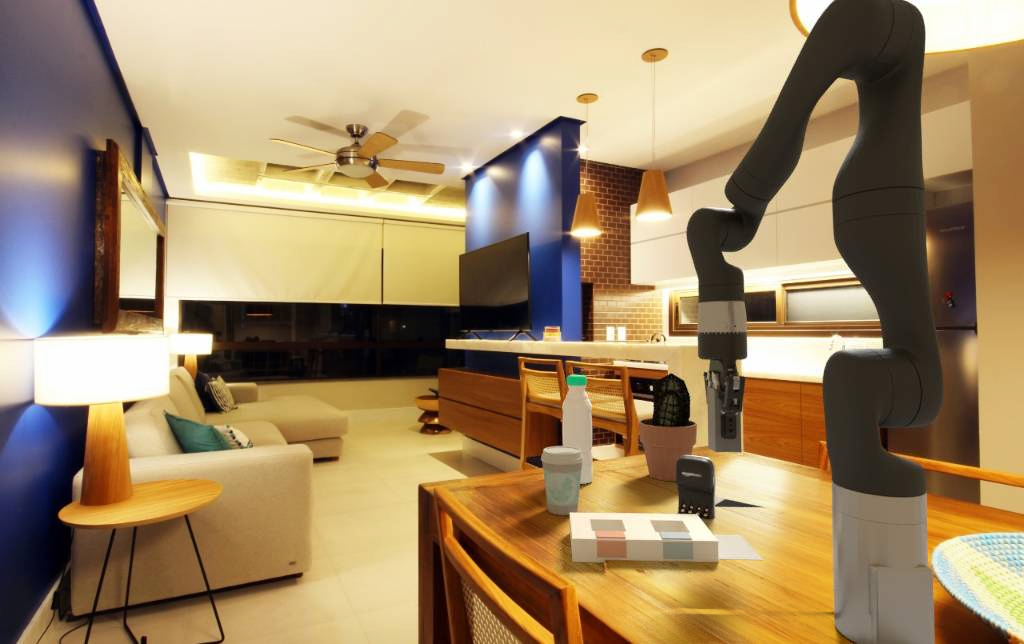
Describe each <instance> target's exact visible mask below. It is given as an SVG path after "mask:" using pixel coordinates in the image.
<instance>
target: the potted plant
mask: <svg viewBox="0 0 1024 644" xmlns="http://www.w3.org/2000/svg"><path fill="white" fill-rule="evenodd" d="M652 398H653V405H652V408H653V411H652V417H651V418H650V417H649V418H643V419H640V420H638V432H639V442H640V443H642V445H643V451H644V456H645V460H646V461H645V462H646V465H647V469H648V471H647V472H648V475H649V476H650V477H651V478H652V479H655V480H658V481H663V482H664V481H665V482H676V462H677V460H678V459H679V458H680V457H681V456H683V455H693V449H694V446H695V445H696V444H697V434H698V433H697V431H698V423H697V422H696V421H694V420H690V418H691V395H690V392H689V390H688V387H687V384H686V382H685V380H684V379H683V378H681V377H678V376H677V375H675V374H674V373H672V372H671V373H669V374H667V375H664V376H663V377H661V378H659V379H658V381H657V384H656V385H655V389H654V393H653V394H652Z"/></svg>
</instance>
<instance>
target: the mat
mask: <svg viewBox="0 0 1024 644" xmlns="http://www.w3.org/2000/svg"><path fill="white" fill-rule="evenodd" d="M713 535H714V536H715V538H716V539H717V540H718V560H729V561H730V560H731V561H732V560H734V561H735V560H736V561H737V560H738V561H739V560H740V561H741V560H742V561H764V559H763V558H762V556H761V555H759V553H758V552H757V551H756V550H755V549H754V548H753V547H752V546H751V545H750V543H749V542H748V541H747V540H746V539H745V538H744V537H743V536H742V535H740V534H713Z"/></svg>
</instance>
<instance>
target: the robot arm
mask: <svg viewBox="0 0 1024 644" xmlns="http://www.w3.org/2000/svg"><path fill="white" fill-rule="evenodd" d="M925 53H926V25H925V19H924V16H923V14H922V12H921V10H920V9H919V8H918V7H917V6H916V5H914V4H913V3H911V2H910V1H907V0H832V1H831V3H830V4H828V6H827V7H825V9H824V10H823V12H822V13H820V16H819V17H818V19H816V21H815V23H814V25H813V27H812V28H811V30H810V31H809V34H808V35H807V38H806V39H805V41H804V44H803V45H802V47H801V49H800V51H799V53H798V55H797V58H796V59H795V61H794V63H793V65H792V68H791V70H790V71H789V74H788V76H787V77H786V80H785V82H784V84H783V86H782V88H781V90H780V92H779V94H778V96H777V98H776V101H775V103H774V104H773V106H772V108H771V110H770V113H769V115H768V117H767V119H766V121H765V123H764V125H763V127H762V128H761V130H760V131H759V134H758V135H757V136H756V138H755V140H754V141H753V143H752V145H751V146H750V147H749V149H748V151H747V152H746V153H745V155H744V156H743V157H742V159H741V161H740V162H739V163H738V165H737V167H736V168H735V170H734V171H733V172H732V173H731V175H730V177H729V178H728V180H727V182H726V183H725V186H724V191H723V192H724V196H725V197H726V199H727V201H728V202H729V203H730V204H732V205H733V206H732V207H731V208H724V207H723V208H722V207H711V206H706V207H704V206H703V207H700V208H698V209H696V210H695V211H694V212H693V213H692V214H691V216H690V218H689V219H688V221H687V225H686V235H685V236H686V241H687V246H688V249H689V252H690V256H691V260H692V262H693V266H694V269H695V272H696V276H697V281H698V282H697V283H698V284H697V286H698V288H697V290H698V291H697V292H698V310H697V317H696V318H697V321H696V322H697V324H696V325H697V357H698V358H699V359H700V360H705V361H709V367H708V370H704V371H703V374H702V375H703V382H704V388H705V391H704V392H705V397H706V403H707V387H712V384H713V383H714V387H715V389H716V398H717V399H718V400H719V401H720V413H721V437H722V438H724V439H735V438H736V436H737V435H736V415H738V412H741V413H742V411H743V405H744V404H743V403H744V398H745V397H744V395H745V386H746V377H745V376H744V375H740V374H739V371H738V366H737V361H738V360H739V361H741V360H745V359H747V358H748V325H747V323H748V320H747V312H746V311H747V310H746V305H745V303H746V302H745V277H744V272H743V269H742V268H740V267H738V266H736V265H734V264H732V263H731V264H730V263H729V262H727V261H726V259H725V257H724V254H723V253H737V252H740V251H742V250H743V249H745V248H746V247H747V246H748V245H750V244H751V242H752V241H753V240H754V238H755V237H756V234H757V232H758V231H759V227H760V226H761V222H762V221H763V218H764V216H765V213H766V211H767V208H768V205H769V204H770V202H771V201H772V200H774V197H775V196H776V195H777V194H778V193H779V191H780V190H781V189H782V187H784V186H785V183H786V182H788V180H789V179H790V178H791V176H792V175H793V173H794V171H795V170H796V168H797V167H798V164H799V161H800V160H801V156H802V154H803V153H802V151H803V149H804V142H805V139H806V138H805V137H806V132H807V129H808V124H809V121H810V118H811V115H812V113H813V112H814V110H815V108H816V106H817V104H818V103H819V101H820V99H821V98H822V97H823V96H824V95H825V94H826V92H827V91H828V90H829V89H830V88H831V86H832V85H833V84H834V83H835V82H836V81H837V80H838V79H842V80H843V79H844V80H848V81H854V83H855V86H856V89H857V90H856V91H857V96H858V116H859V117H858V126H857V127H858V128H857V132H856V135H855V138H854V140H853V143H852V145H851V146H850V148H849V150H848V152H847V154H846V156H845V158H844V160H843V161H842V163H841V166H840V168H839V170H838V172H837V174H836V176H835V179H834V183H833V185H832V192H831V204H832V205H831V210H832V211H831V212H832V230H833V231H832V233H833V241H834V244H835V247H836V249H837V251H838V253H839V255H840V257H841V258H842V259H843V261H844V262H845V264H846V265H847V267H848V268H849V270H850V271H851V273H853V276H854V277H855V278H856V279H857V281H858V282H859V283H860V284H861V286H862V287H863V289H864V290H865V292H866V293H867V294H868V296H869V297H870V299H871V301H872V303H873V305H874V307H875V309H876V313H877V315H878V319H879V323H880V324H879V325H880V330H881V339H882V348H848V349H847V348H846V349H839V350H837V351H835V352H834V353H832V354H831V355H830V356H829V358H828V359H827V361H826V363H825V366H824V369H823V374H822V386H821V387H822V389H821V390H822V404H823V414H824V427H825V428H824V430H825V441H826V452H827V457H828V460H829V465H830V468H831V469H830V470H831V513H832V514H831V517H832V518H831V520H832V521H831V522H832V523H831V525H832V526H831V527H832V567H833V568H832V572H833V578H832V579H833V581H832V582H833V611H834V612H833V616H834V621H833V622H834V627H836V629H837V630H838V632H839V633H840V634H842V635H843V636H844V637H845V638H847V639H849V640H850V641H852V642H854V643H855V644H935V641H936V640H935V609H934V607H935V604H934V602H935V601H934V600H935V599H934V572H933V570H932V568H931V567H929V548H928V546H929V545H928V500H927V499H928V495H927V494H928V493H927V491H928V489H927V482H928V481H927V474H926V470H925V469H924V467H923V466H922V465H920V464H919V463H918V462H917V461H916V462H915V461H913V460H911V459H908V458H906V457H903V456H899V455H895V454H894V453H891V452H889V451H887V450H886V449H885V448H884V447H883V445H882V441H881V435H880V429H883V428H885V429H889V428H890V429H891V428H893V429H894V428H895V429H896V428H898V429H899V428H900V429H901V428H903V429H905V428H907V429H909V428H922V427H926V426H929V425H931V424H932V423H933V422H935V420H936V419H937V418H938V417H939V415H940V413H941V410H942V408H943V405H944V404H943V403H944V396H945V395H944V391H945V390H944V389H945V382H944V381H945V380H944V379H945V378H944V373H943V372H944V370H943V366H942V365H943V364H942V358H941V352H940V346H939V341H938V335H937V330H936V328H937V327H936V323H935V319H934V318H935V317H934V311H933V307H932V305H933V304H932V300H931V290H930V289H931V287H930V277H929V263H928V250H927V249H928V248H927V206H926V204H927V203H926V189H925V186H926V185H925V179H924V167H923V166H924V165H923V137H922V136H923V135H922V134H923V133H922V132H923V131H922V91H923V79H924V78H923V77H924V69H925V68H924V67H925V66H924V65H925V57H926V56H925V55H926V54H925ZM720 389H721V391H722V392H725V394H722V393H721V392H720ZM730 400H732V404H730Z"/></svg>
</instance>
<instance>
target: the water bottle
mask: <svg viewBox="0 0 1024 644" xmlns="http://www.w3.org/2000/svg"><path fill="white" fill-rule="evenodd" d="M587 379H588V378H587V376H586V375H582V374H571V375H568V376H567V377H566V386H567V388H568V391H567V393H566V395H565V399H564V400H563V402H562V406H561V408H562V428H561V429H562V446H570V447H576V448H579V449H580V450H581V452H582V455H583V459H584V461H583V462H582V469H581V480H580V484H582V485H588V484H591V482H592V481H593V480H594V471H593V460H594V459H593V457H594V455H593V451H592V450H593V417H592V410H593V405H592V402H591V400H590V399H589V396H588V393H587V391H586V388H587V384H588V380H587ZM587 483H588V484H587Z"/></svg>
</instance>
